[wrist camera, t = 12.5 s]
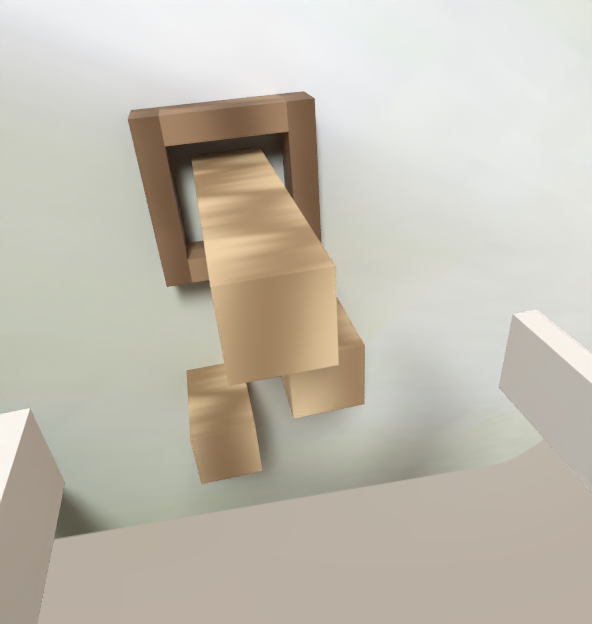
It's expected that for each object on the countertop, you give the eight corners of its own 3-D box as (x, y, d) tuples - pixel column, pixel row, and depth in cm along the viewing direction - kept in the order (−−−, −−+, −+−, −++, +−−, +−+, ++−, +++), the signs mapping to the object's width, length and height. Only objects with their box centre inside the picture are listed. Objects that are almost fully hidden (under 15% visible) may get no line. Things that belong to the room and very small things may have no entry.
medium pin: (264, 321, 36) (293, 418, 27) (258, 271, 34) (288, 359, 25) (319, 312, 36) (364, 404, 28) (316, 262, 34) (364, 345, 26)
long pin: (202, 221, 31) (228, 385, 18) (190, 156, 29) (210, 286, 16) (266, 212, 32) (338, 364, 18) (259, 147, 30) (335, 265, 16)
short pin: (196, 411, 39) (201, 484, 33) (186, 370, 37) (190, 440, 31) (248, 401, 39) (262, 470, 33) (241, 360, 37) (255, 427, 31)
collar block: (167, 268, 32) (167, 286, 30) (130, 110, 27) (127, 119, 25) (312, 245, 33) (321, 262, 31) (303, 91, 28) (314, 98, 26)
